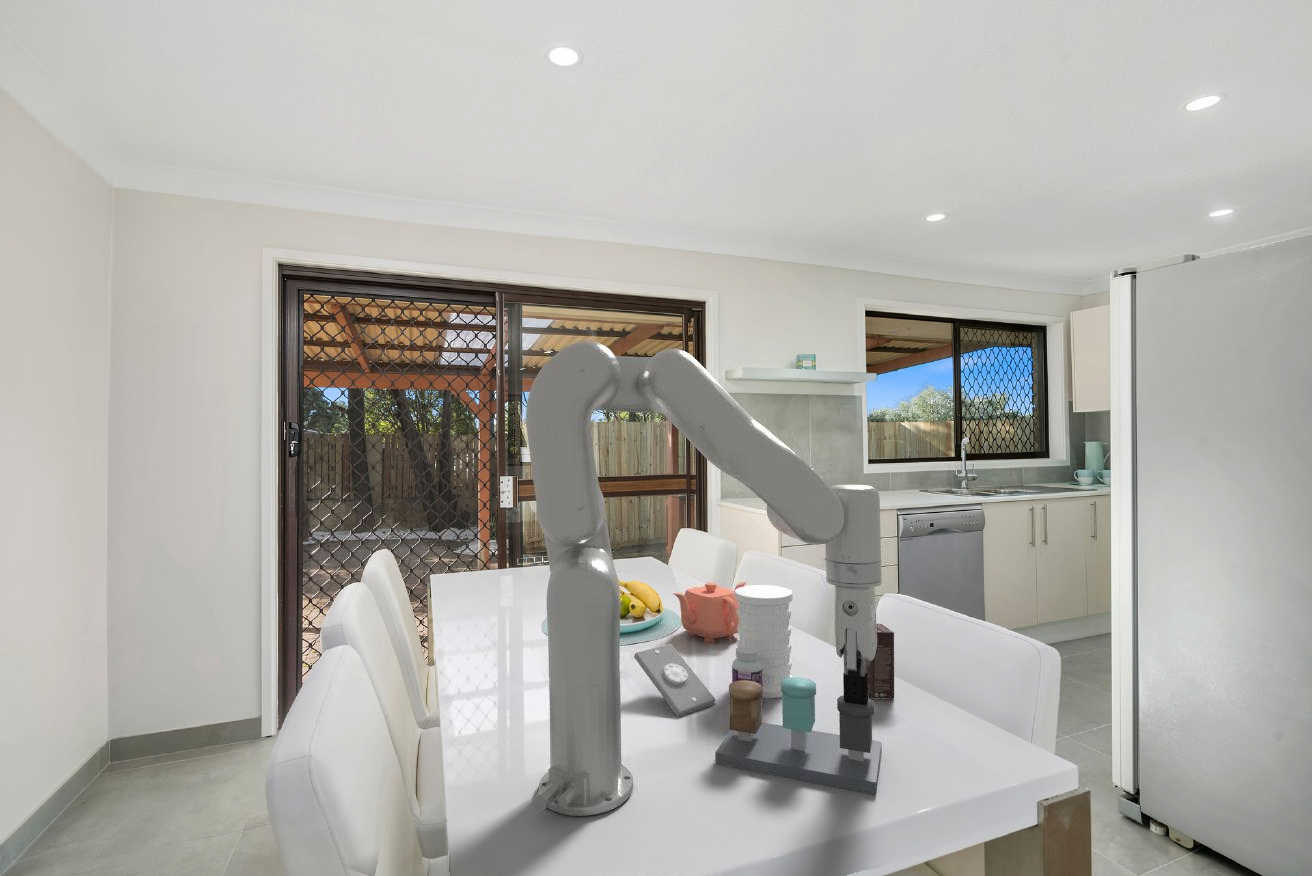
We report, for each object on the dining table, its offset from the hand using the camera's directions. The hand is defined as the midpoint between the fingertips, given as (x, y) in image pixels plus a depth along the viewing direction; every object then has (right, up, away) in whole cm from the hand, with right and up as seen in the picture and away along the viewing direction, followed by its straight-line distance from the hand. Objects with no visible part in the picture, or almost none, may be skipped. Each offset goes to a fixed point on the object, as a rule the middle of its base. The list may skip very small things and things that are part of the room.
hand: (856, 701), depth 89 cm
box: (+12, -10, +26) cm, 30 cm away
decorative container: (-8, -10, +30) cm, 33 cm away
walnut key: (-15, -6, +6) cm, 17 cm away
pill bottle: (-12, -10, +22) cm, 27 cm away
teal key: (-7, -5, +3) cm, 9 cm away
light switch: (-25, -10, +25) cm, 37 cm away
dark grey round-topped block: (0, -6, 0) cm, 6 cm away
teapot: (-15, -11, +62) cm, 64 cm away
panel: (-7, -10, +3) cm, 12 cm away
